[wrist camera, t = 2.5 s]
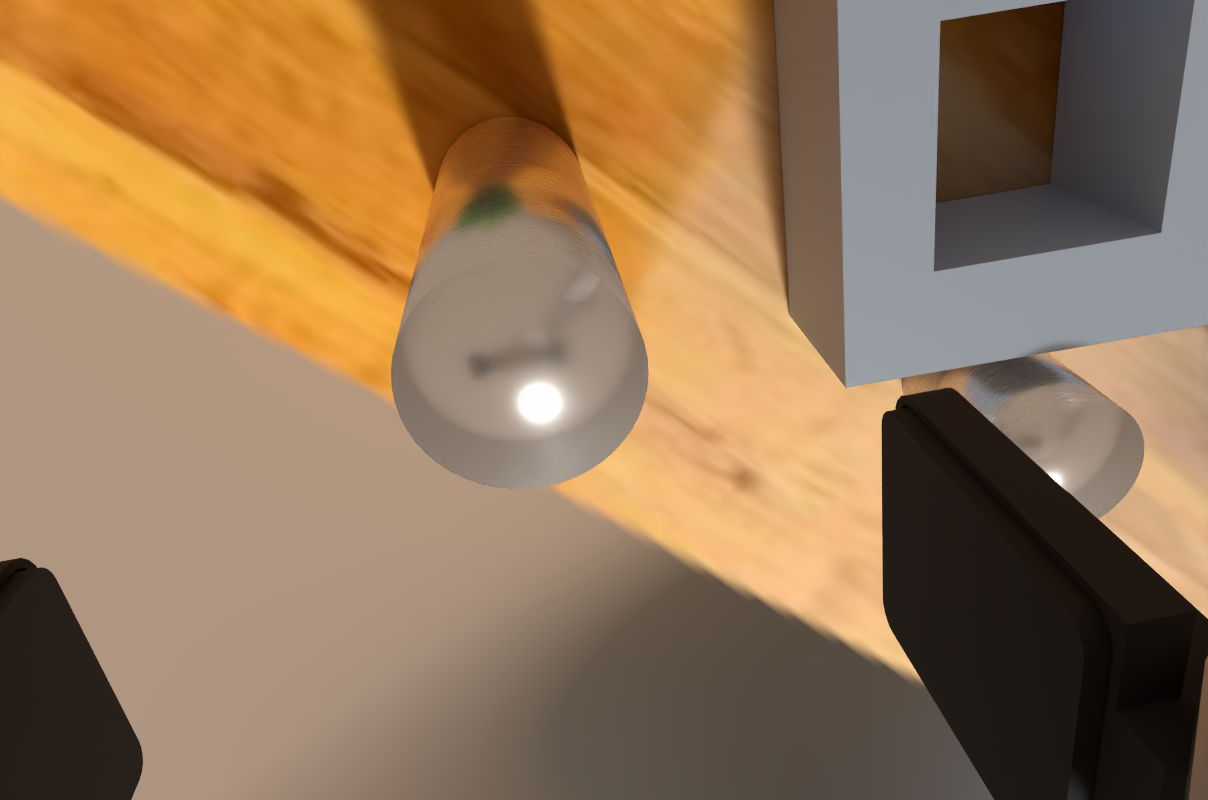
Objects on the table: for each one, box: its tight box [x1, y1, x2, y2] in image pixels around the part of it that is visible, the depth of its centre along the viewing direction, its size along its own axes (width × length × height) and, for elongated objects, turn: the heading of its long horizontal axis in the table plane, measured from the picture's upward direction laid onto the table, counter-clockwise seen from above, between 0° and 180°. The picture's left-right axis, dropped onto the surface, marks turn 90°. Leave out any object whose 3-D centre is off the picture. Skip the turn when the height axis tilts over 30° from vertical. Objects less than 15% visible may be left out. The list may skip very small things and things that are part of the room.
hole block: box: [774, 0, 1208, 388], centre depth 23 cm, size 11×10×5 cm
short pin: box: [902, 353, 1144, 519], centre depth 26 cm, size 4×4×6 cm
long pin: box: [391, 117, 648, 489], centre depth 20 cm, size 4×4×12 cm
